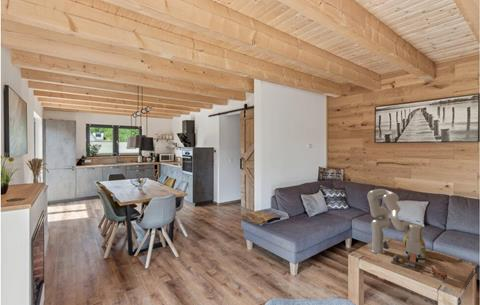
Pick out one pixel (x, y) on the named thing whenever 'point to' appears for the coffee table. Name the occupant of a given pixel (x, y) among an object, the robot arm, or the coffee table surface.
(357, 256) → the coffee table surface
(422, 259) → the tea box
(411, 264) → the salmon pink rectangular box
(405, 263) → the press base
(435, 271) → the bull figurine
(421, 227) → the pitcher
